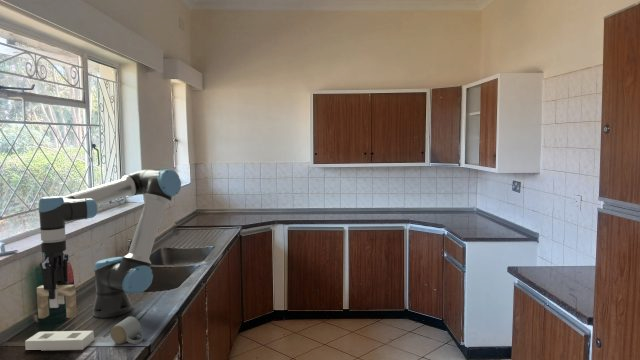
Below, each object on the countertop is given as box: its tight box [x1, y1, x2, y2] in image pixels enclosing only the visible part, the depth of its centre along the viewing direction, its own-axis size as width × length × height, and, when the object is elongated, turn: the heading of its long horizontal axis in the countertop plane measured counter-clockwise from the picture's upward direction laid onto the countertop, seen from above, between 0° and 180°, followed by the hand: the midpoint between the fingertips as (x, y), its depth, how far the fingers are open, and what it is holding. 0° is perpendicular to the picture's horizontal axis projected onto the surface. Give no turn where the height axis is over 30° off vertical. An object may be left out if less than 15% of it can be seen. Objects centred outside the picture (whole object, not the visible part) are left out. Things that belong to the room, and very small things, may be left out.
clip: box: [36, 284, 78, 319], centre depth 161 cm, size 12×3×11 cm, turn 90°
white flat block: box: [24, 330, 95, 351], centre depth 162 cm, size 20×8×4 cm, turn 90°
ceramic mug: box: [110, 316, 144, 345], centre depth 165 cm, size 11×8×8 cm
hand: (57, 305), depth 161 cm, fingers closed on clip, 3 cm apart
